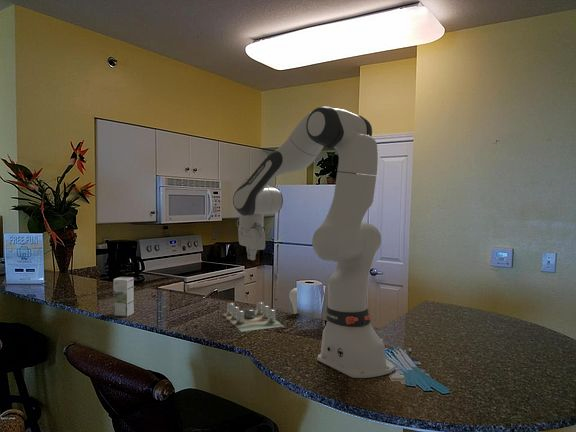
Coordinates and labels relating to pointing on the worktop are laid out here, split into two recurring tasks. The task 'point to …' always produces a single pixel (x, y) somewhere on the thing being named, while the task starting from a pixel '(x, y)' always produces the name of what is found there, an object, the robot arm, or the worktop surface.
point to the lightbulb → (294, 299)
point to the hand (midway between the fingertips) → (251, 259)
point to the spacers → (261, 310)
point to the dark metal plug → (249, 313)
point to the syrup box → (123, 296)
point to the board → (254, 323)
